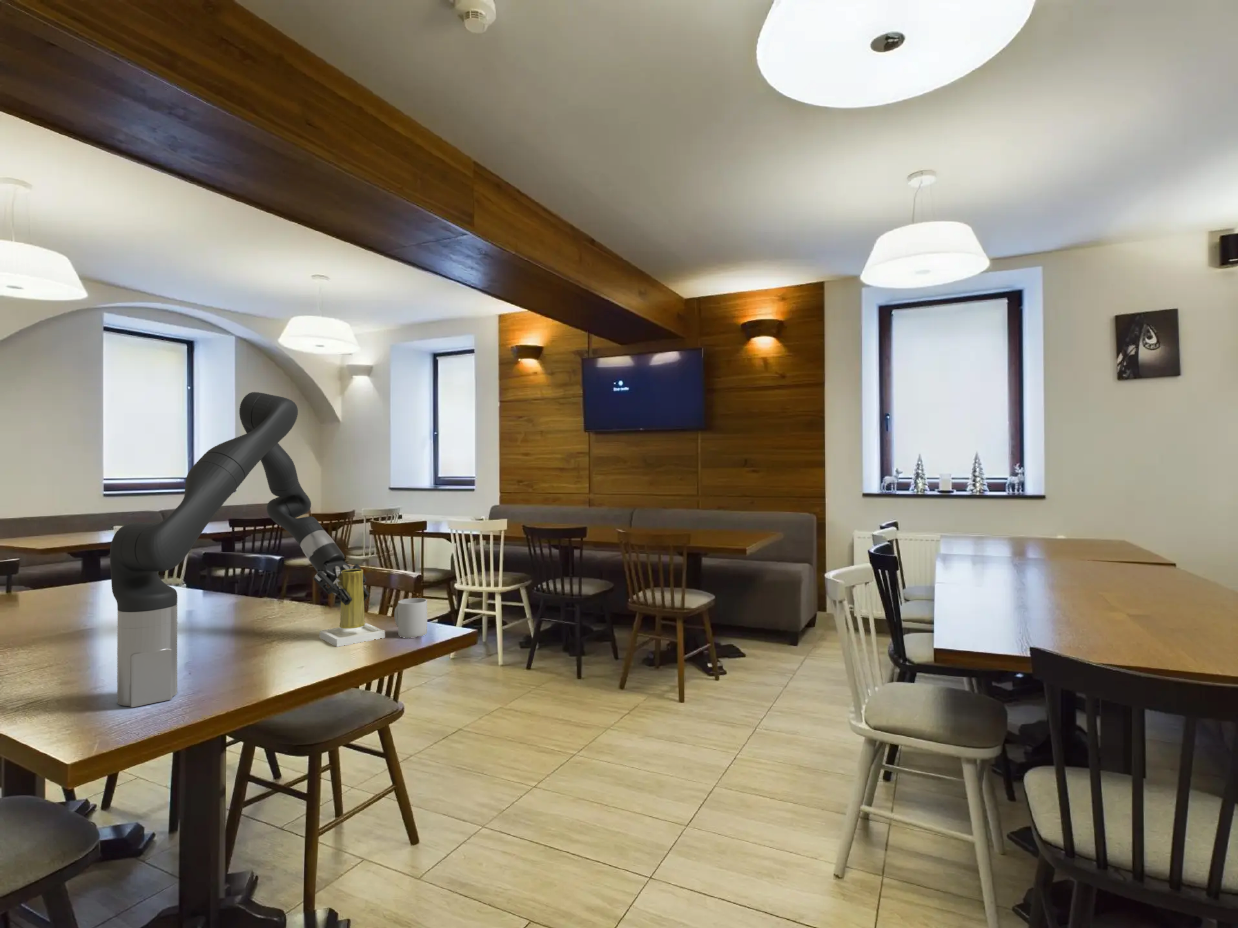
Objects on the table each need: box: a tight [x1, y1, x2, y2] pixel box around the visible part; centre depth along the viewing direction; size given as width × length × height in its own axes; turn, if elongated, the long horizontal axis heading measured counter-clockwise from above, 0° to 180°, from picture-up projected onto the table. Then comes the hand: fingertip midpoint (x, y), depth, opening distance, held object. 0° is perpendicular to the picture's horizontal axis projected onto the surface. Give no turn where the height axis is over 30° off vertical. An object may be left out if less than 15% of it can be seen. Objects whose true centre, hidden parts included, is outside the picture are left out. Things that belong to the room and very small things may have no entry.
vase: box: [338, 568, 366, 629], centre depth 166 cm, size 6×6×14 cm
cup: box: [393, 597, 428, 639], centre depth 169 cm, size 7×10×9 cm
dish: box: [319, 622, 386, 648], centre depth 166 cm, size 12×12×2 cm
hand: (357, 600), depth 165 cm, fingers closed on vase, 5 cm apart
